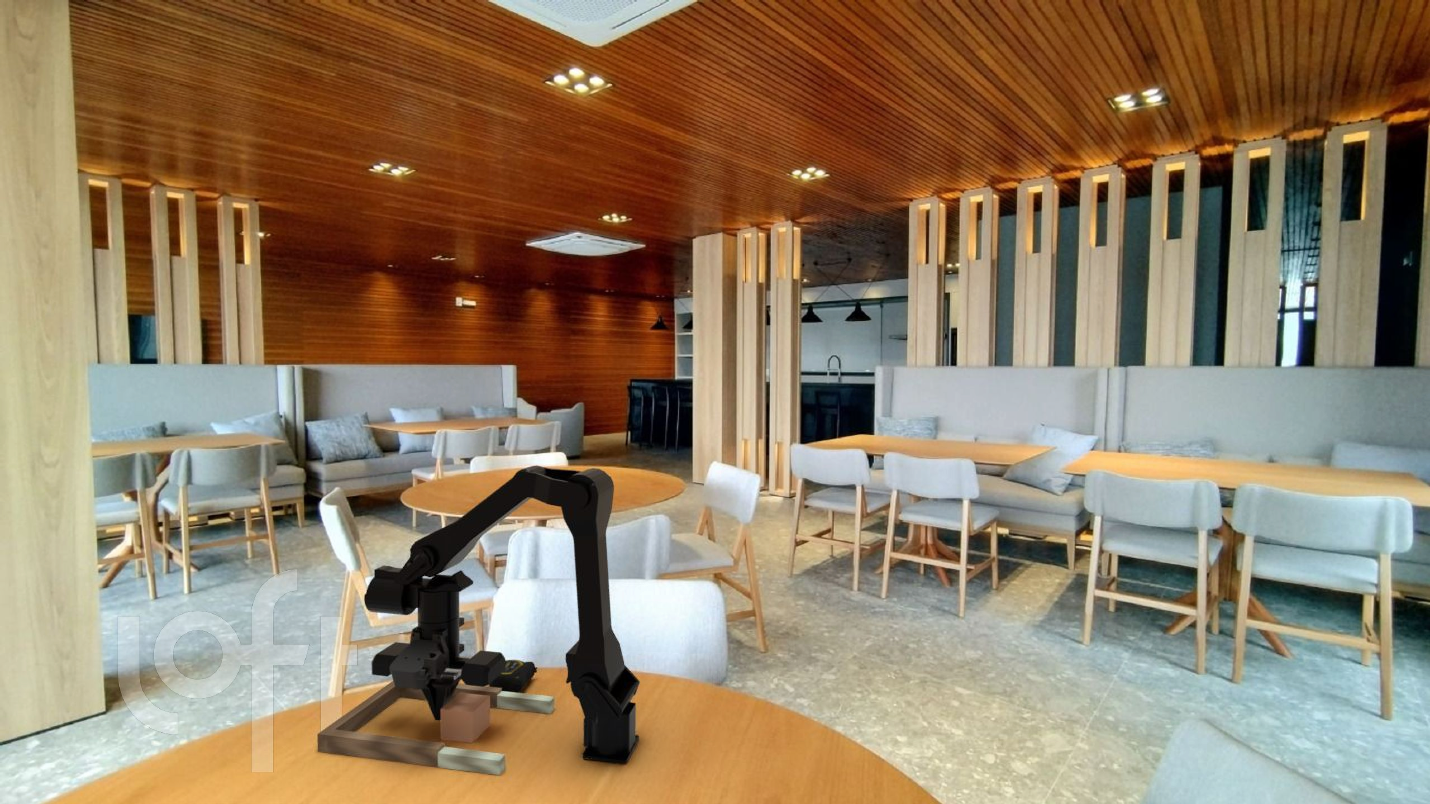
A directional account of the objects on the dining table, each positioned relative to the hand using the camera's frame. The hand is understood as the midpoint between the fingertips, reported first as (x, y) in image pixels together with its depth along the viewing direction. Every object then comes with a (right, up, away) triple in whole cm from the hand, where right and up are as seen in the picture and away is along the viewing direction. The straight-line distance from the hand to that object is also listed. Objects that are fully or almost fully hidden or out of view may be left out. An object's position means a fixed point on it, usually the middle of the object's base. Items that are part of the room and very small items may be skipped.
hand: (439, 719), depth 99 cm
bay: (+1, -1, 0) cm, 2 cm away
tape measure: (+7, -1, +13) cm, 15 cm away
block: (+4, -2, -1) cm, 5 cm away
